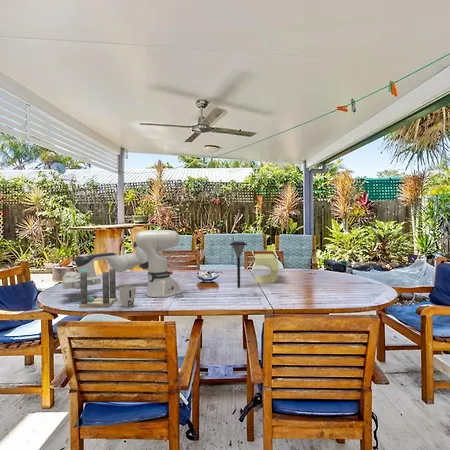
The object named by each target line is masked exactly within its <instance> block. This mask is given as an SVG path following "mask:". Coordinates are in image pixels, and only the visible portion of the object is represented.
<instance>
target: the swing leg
mask: <svg viewBox="0 0 450 450" xmlns="http://www.w3.org/2000/svg"><path fill="white" fill-rule="evenodd" d="M82 272H87V269H81V273H82ZM94 297H95V296H87V300H88V301H93V300H94Z"/></svg>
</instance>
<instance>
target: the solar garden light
mask: <svg viewBox="0 0 450 450" xmlns="http://www.w3.org/2000/svg"><path fill="white" fill-rule="evenodd" d="M229 246H232V248H233V251H234V253H235V256H236V258H237V259H236V263H237V264H236V267H237V268H236V269H237V275H236V276H237V278H236V280H237V281H236V282H237V284H236V285H237V289H240V288H241V255H242V253H243V251H244V248H245V246H248V244H247V242H244V241H232V242H231V243H230V244H229Z"/></svg>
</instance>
